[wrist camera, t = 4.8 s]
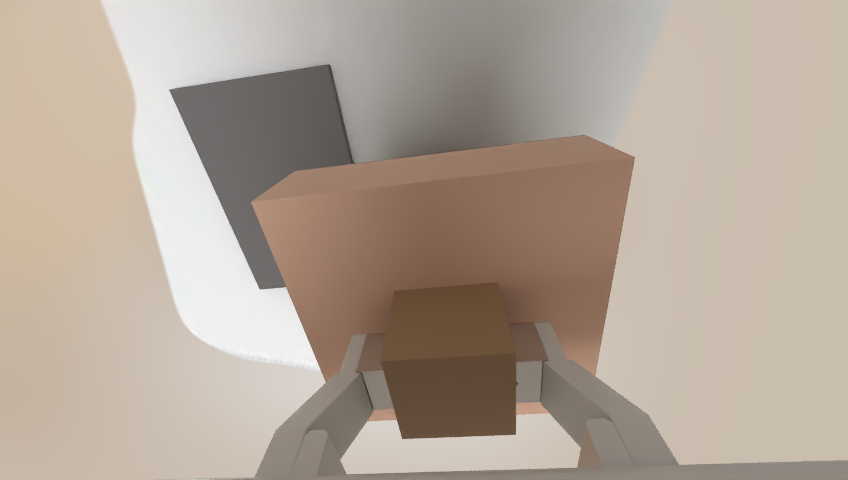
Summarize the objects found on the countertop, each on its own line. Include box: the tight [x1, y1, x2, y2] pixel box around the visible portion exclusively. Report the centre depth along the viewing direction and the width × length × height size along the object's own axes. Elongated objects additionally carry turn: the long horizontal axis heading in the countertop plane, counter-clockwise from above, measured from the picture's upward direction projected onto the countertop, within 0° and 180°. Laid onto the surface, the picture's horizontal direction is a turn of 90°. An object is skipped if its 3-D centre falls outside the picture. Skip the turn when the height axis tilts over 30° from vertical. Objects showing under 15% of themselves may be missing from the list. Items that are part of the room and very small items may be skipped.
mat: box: [170, 65, 353, 289], centre depth 27 cm, size 18×12×1 cm, turn 8°
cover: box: [251, 135, 635, 439], centre depth 12 cm, size 11×11×6 cm
